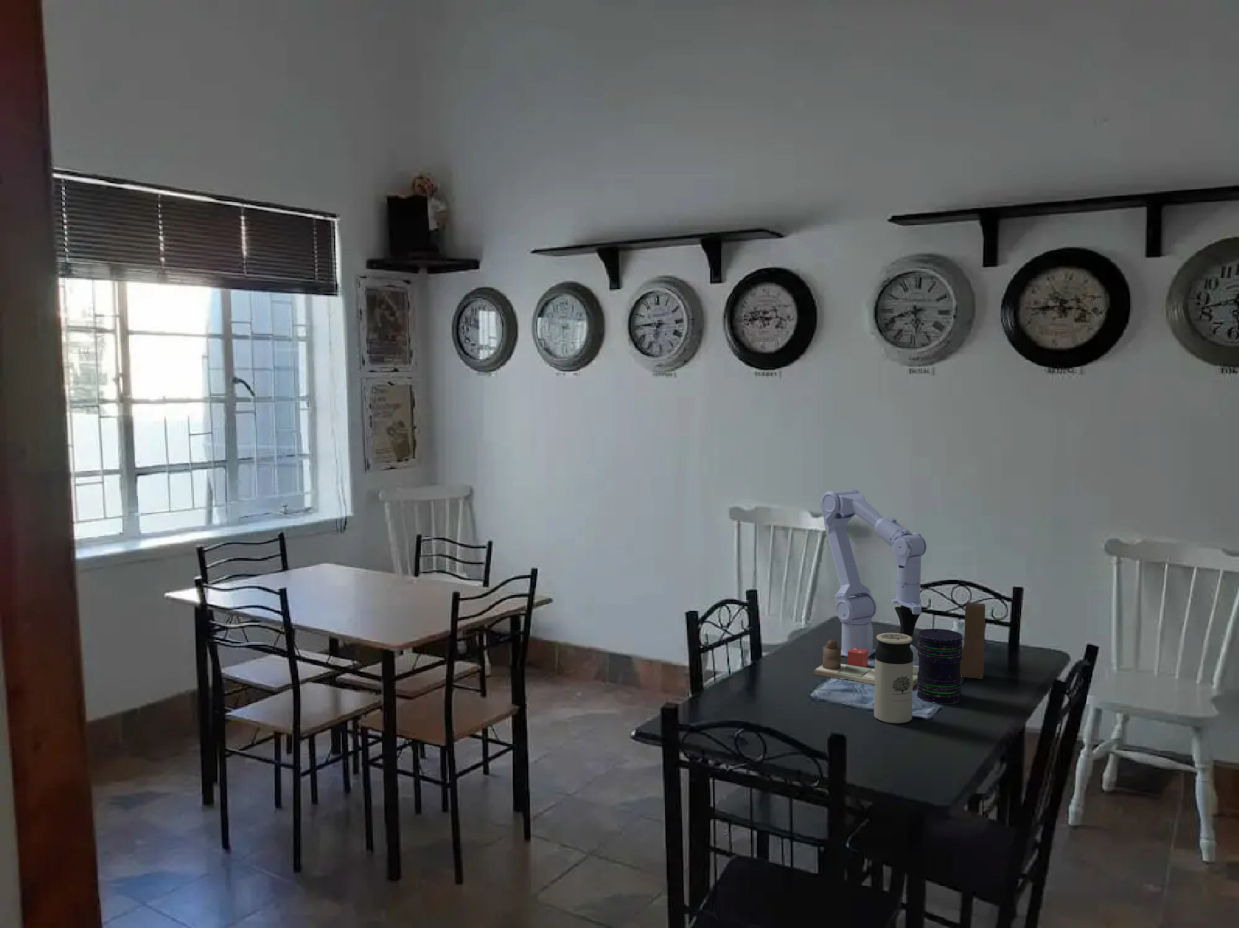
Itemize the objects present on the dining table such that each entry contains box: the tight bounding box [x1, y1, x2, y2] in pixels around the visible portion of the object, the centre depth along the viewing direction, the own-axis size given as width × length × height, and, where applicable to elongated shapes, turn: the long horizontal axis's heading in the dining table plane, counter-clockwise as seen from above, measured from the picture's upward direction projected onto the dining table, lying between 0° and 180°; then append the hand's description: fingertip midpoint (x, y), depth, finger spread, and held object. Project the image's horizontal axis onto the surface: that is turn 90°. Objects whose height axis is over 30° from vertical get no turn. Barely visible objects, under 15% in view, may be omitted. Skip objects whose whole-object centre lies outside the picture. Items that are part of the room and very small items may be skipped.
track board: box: [813, 663, 918, 689], centre depth 245 cm, size 9×24×1 cm, turn 58°
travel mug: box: [873, 632, 914, 724], centre depth 215 cm, size 8×8×18 cm
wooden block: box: [960, 602, 986, 680], centre depth 245 cm, size 9×4×18 cm, turn 68°
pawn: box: [822, 639, 842, 670], centre depth 249 cm, size 4×4×7 cm
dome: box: [910, 643, 919, 666], centre depth 249 cm, size 7×7×5 cm
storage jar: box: [916, 628, 963, 705], centre depth 229 cm, size 10×10×15 cm
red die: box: [846, 648, 869, 668], centre depth 254 cm, size 4×4×4 cm
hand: (907, 635), depth 248 cm, fingers closed
